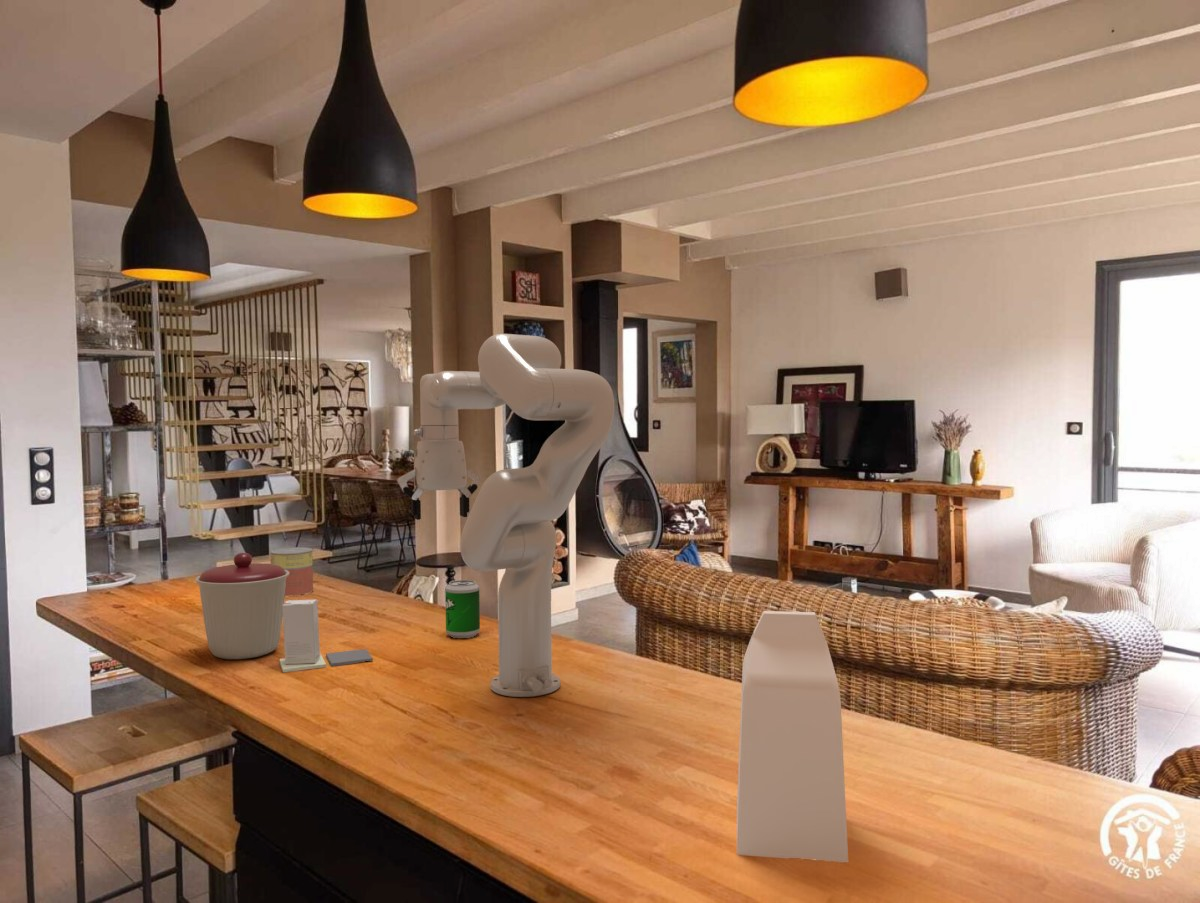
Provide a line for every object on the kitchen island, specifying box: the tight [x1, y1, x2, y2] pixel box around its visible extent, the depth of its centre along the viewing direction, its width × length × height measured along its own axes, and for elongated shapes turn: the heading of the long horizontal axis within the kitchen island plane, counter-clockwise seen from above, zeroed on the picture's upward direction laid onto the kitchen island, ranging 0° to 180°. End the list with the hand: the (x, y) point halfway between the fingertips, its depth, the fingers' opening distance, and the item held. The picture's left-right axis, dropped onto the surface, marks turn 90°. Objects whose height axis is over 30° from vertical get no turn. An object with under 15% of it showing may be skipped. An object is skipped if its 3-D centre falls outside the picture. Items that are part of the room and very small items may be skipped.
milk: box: [736, 610, 849, 863], centre depth 100 cm, size 12×12×26 cm
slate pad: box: [325, 648, 374, 667], centre depth 174 cm, size 8×8×1 cm
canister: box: [194, 552, 290, 660], centre depth 179 cm, size 18×18×21 cm
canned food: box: [269, 546, 314, 596], centre depth 241 cm, size 11×11×12 cm
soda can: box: [444, 579, 481, 639], centre depth 192 cm, size 8×8×12 cm
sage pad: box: [279, 653, 327, 673], centre depth 171 cm, size 8×8×1 cm
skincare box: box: [282, 599, 321, 664], centre depth 170 cm, size 6×4×12 cm
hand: (440, 517), depth 176 cm, fingers open, 9 cm apart
